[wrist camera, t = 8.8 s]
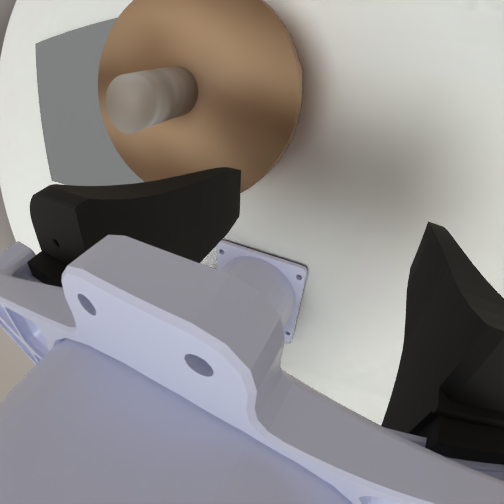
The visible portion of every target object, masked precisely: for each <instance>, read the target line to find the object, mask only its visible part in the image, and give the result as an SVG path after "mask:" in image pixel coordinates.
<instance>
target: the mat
mask: <svg viewBox="0 0 504 504" xmlns="http://www.w3.org/2000/svg"><path fill="white" fill-rule="evenodd" d="M117 19H118V18H115V19H111V20H107V21H103V22H99V23H96V24H92V25H89V26H85V27H82V28H79V29H75V30H72V31H69V32H66V33H63V34H60V35H58V36H55V37H52V38H49V39H47V40H44V41H41V42H39V43H36V68H37V83H38V94H39V104H40V113H41V121H42V128H43V135H44V141H45V147H46V153H47V159H48V164H49V169H50V174H51V179H52V181H55V182H59V183H62V184H66V185H75V186H110V185H122V184H134V183H142V182H144V181H143V180H142V179H141V178H139V177H138V176H137V175H136V174H135V173H134V172H133V171H132V170H131V169H130V168H129V167H128V165H127V164H126V163H125V162H124V160H123V159H122V158H121V156H120V155H119V153H118V152H117V150H116V149H115V147H114V145H113V143H112V141H111V139H110V137H109V135H108V132H107V130H106V127H105V125H104V121H103V118H102V115H101V110H100V105H99V97H98V71H99V63H100V59H101V54H102V51H103V47H104V44H105V41H106V39H107V37H108V35H109V32H110V30H111V28H112V27H113V25H114V23H115V22H116V20H117Z"/></svg>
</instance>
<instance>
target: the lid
mask: <svg viewBox="0 0 504 504" xmlns="http://www.w3.org/2000/svg"><path fill="white" fill-rule="evenodd" d="M302 88H303V86H302V75H301V67H300V63H299V58H298V54H297V51H296V48H295V46H294V43H293V41H292V38H291V36H290V34H289V32H288V30H287V29H286V27H285V25H284V24H283V22H282V20H281V19H280V18H279V17H278V16H277V14H276V13H275V12H274V11H273V9H272V8H271V7H270V6H268V5H267V4H266V3H265V2H264V1H263V0H133V1H132V2H131V3H130V4H129V5H128V6H127V7H126V8H125V10H124V11H123V12H122V13H121V15H120V16H119V17H118V19H117V20H116V22H115V23H114V25H113V27H112V28H111V30H110V32H109V35H108V37H107V39H106V41H105V44H104V47H103V51H102V54H101V59H100V63H99V71H98V97H99V105H100V110H101V115H102V118H103V121H104V125H105V127H106V130H107V132H108V135H109V137H110V139H111V141H112V143H113V145H114V147H115V149H116V150H117V152H118V153H119V155H120V156H121V158H122V159H123V160H124V162H125V163H126V164H127V165H128V167H129V168H130V169H131V170H132V171H133V172H134V173H135V174H136V175H137V176H138V177H139V178H141V179H142V180H143V181H144V182H149V181H155V180H161V179H165V178H170V177H175V176H180V175H185V174H189V173H193V172H198V171H203V170H207V169H213V168H219V167H229V168H234V169H239V170H241V189H240V193H241V192H243V191H245V190H247V189H249V188H250V187H251V186H253V185H254V184H255V183H257V182H258V181H259V180H260V179H262V178H263V177H264V176H265V175H266V174H267V173H268V172H269V171H270V170H271V169H272V168H273V167H274V166H275V165H276V164H277V163H278V161H279V160H280V158H281V157H282V155H283V154H284V153H285V151H286V149H287V147H288V145H289V143H290V141H291V140H292V138H293V135H294V132H295V129H296V126H297V123H298V120H299V115H300V110H301V105H302Z"/></svg>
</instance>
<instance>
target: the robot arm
mask: <svg viewBox="0 0 504 504" xmlns="http://www.w3.org/2000/svg"><path fill="white" fill-rule="evenodd" d="M240 189H241V170H239V169H234V168H229V167H219V168H213V169H207V170H203V171H198V172H193V173H189V174H185V175H180V176H175V177H170V178H165V179H161V180H155V181H149V182H142V183H134V184H122V185H110V186H75V185H58V184H54V185H50V186H48V187H46V188H44V189H43V190H41V191H39V192H38V193H36V194H34V195H33V197H32V199H31V202H30V215H31V219H32V223H33V226H34V229H35V232H36V235H37V239H38V242H39V244H40V247H41V250H42V251H41V252H40V253H39V254H37V255H35V253H34V252H33V251H32V250H31V249H30V248H29V247H27V246H25V245H24V244H22V243H21V242H16V243H15V244H14V245H12V246H11V247H9V248H8V249H7V250H5V251H4V252H3V253H1V254H0V326H1V327H2V328H3V329H4V330H5V332H6V333H7V334H8V335H9V336H10V337H11V338H12V339H13V340H14V342H15V343H16V344H17V345H18V346H19V347H20V348H21V349H22V350H23V351H24V353H25V354H26V355H27V356H28V357H29V358H30V359H31V360H32V361H33V362H34V363H35V364H36V365H35V366H34V367H33V368H32V369H31V370H30V371H29V372H28V374H27V375H26V376H25V377H24V378H23V379H22V380H21V381H20V382H19V383H18V384H17V385H16V386H15V387H14V388H13V389H12V390H11V391H10V392H9V394H8V395H7V396H6V397H5V398H4V399H3V400H2V401H1V402H0V504H504V298H503V297H502V296H501V295H500V294H499V293H498V292H497V291H496V290H495V289H494V288H493V287H492V286H491V285H490V284H489V283H488V282H487V280H486V279H485V278H484V277H483V276H482V275H481V273H480V272H479V271H478V270H477V268H476V267H475V266H474V265H473V264H472V262H471V261H470V260H469V258H468V257H467V256H466V254H465V253H464V252H463V250H462V249H461V248H460V246H459V245H458V244H457V242H456V241H455V240H454V238H453V237H452V236H451V234H450V233H449V232H448V231H447V230H446V229H445V228H444V227H442V226H439V225H437V224H434V223H431V222H428V224H427V227H426V230H425V232H424V235H423V238H422V240H421V243H420V245H419V248H418V251H417V253H416V256H415V258H414V261H413V263H412V265H411V268H410V274H409V280H408V287H407V300H406V320H405V335H404V344H403V351H402V356H401V360H400V365H399V369H398V373H397V377H396V381H395V384H394V388H393V392H392V395H391V398H390V402H389V405H388V408H387V411H386V414H385V417H384V420H383V423H382V425H381V426H380V425H378V424H376V423H374V422H372V421H371V420H369V419H367V418H365V417H363V416H361V415H359V414H357V413H356V412H354V411H352V410H350V409H348V408H346V407H345V406H343V405H341V404H339V403H337V402H336V401H334V400H332V399H330V398H329V397H327V396H325V395H323V394H322V393H320V392H318V391H316V390H315V389H313V388H311V387H310V386H308V385H306V384H305V383H303V382H301V381H300V380H298V379H296V378H295V377H293V376H291V375H290V374H288V373H286V372H285V371H283V370H282V369H281V368H280V359H281V354H282V350H283V345H284V342H285V343H290V342H291V341H292V338H293V334H294V330H295V326H296V321H297V317H298V313H299V308H300V304H301V299H302V295H303V290H304V286H305V281H306V276H307V269H306V267H305V266H303V265H300V264H296V263H293V262H290V261H287V260H284V259H281V258H278V257H274V256H271V255H268V254H265V253H262V252H259V251H256V250H252V249H249V248H246V247H243V246H240V245H237V244H234V243H230V242H227V241H224V240H222V239H223V238H224V237H225V236H226V234H227V233H228V232H229V231H230V229H231V228H232V226H233V225H234V223H235V222H236V220H237V219H238V217H239V212H240ZM216 245H217V269H214V268H211V267H208V266H206V265H203V264H200V262H201V261H202V260H203V259H204V258H205V257H206V256H207V255H208V254H209V253H210V251H211V250H212V249H213V248H214V247H215V246H216ZM221 249H222V250H223V251H224V252H223V251H222V250H221ZM298 275H300V276H302V277H299V276H298Z"/></svg>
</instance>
